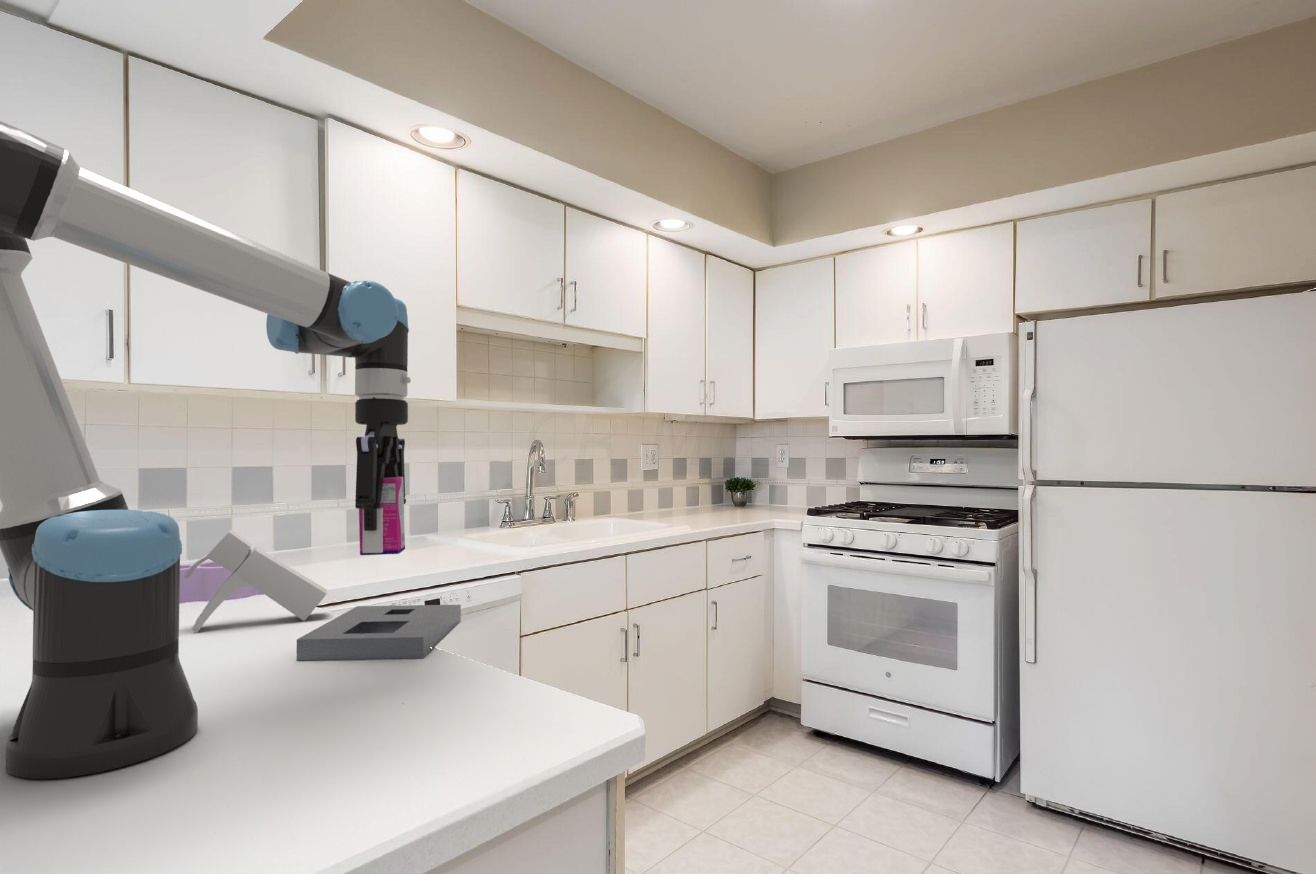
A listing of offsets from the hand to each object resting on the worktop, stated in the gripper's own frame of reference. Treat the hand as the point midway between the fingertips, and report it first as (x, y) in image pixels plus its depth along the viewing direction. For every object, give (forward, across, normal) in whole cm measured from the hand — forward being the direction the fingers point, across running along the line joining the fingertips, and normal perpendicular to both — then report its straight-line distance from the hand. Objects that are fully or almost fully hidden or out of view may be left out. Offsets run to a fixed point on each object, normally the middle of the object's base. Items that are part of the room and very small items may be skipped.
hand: (381, 549), depth 106 cm
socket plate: (+15, +5, +1) cm, 16 cm away
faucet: (+15, +17, +28) cm, 36 cm away
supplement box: (+1, 0, 0) cm, 1 cm away
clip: (+15, +42, +52) cm, 68 cm away
